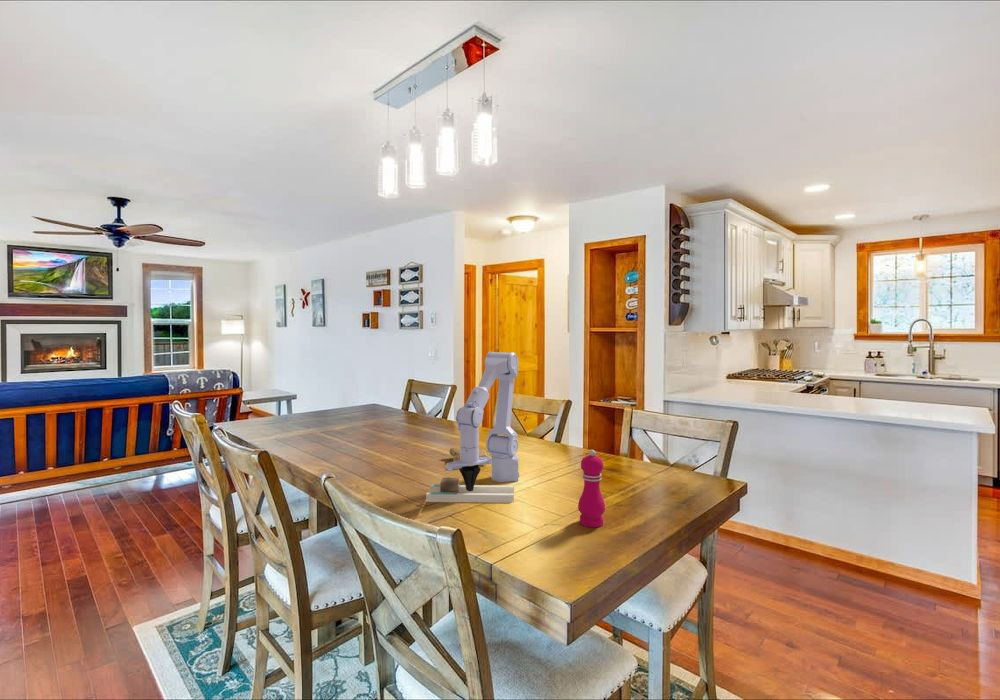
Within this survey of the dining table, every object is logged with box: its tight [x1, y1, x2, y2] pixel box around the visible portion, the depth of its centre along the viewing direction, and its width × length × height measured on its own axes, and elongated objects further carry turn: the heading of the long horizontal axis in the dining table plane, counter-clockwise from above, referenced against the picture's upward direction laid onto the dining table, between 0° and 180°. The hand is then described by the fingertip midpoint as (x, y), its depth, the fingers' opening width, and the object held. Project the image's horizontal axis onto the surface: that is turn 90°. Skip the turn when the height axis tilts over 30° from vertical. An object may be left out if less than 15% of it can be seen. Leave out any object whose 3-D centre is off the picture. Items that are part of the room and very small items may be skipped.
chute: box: [425, 483, 515, 504], centre depth 154 cm, size 26×10×3 cm, turn 88°
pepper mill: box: [577, 449, 606, 528], centre depth 135 cm, size 7×7×20 cm
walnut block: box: [439, 477, 460, 493], centre depth 154 cm, size 5×5×5 cm
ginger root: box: [449, 447, 488, 462], centre depth 194 cm, size 16×16×8 cm
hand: (469, 490), depth 154 cm, fingers closed
